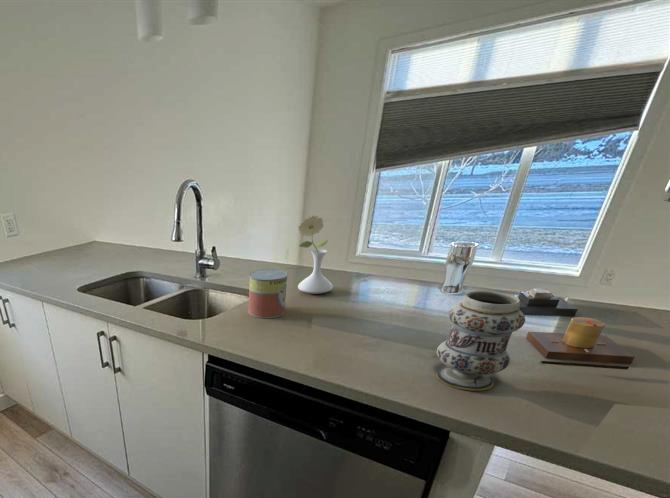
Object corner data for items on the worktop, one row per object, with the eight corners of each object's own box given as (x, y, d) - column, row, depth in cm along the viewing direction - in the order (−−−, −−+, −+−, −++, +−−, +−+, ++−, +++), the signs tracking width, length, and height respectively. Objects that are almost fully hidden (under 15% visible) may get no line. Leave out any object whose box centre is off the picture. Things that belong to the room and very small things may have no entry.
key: (544, 295, 112) (546, 288, 111) (549, 299, 109) (552, 292, 108) (528, 294, 113) (530, 288, 112) (533, 298, 110) (535, 292, 109)
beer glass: (434, 293, 130) (447, 245, 123) (441, 287, 134) (454, 240, 126) (459, 296, 125) (474, 247, 118) (466, 290, 129) (481, 242, 122)
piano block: (557, 304, 115) (563, 290, 113) (574, 317, 107) (581, 302, 105) (497, 302, 119) (502, 289, 117) (509, 314, 111) (514, 300, 109)
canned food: (278, 320, 121) (281, 280, 115) (243, 315, 127) (243, 278, 121) (289, 307, 129) (292, 270, 123) (255, 304, 135) (256, 268, 129)
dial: (557, 337, 91) (567, 315, 89) (586, 338, 90) (597, 316, 87) (568, 347, 87) (579, 324, 84) (599, 348, 85) (611, 325, 83)
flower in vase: (333, 287, 143) (343, 211, 131) (330, 297, 134) (341, 217, 122) (295, 285, 148) (301, 213, 136) (290, 295, 139) (296, 218, 127)
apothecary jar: (509, 379, 84) (544, 295, 75) (484, 401, 78) (518, 313, 69) (445, 361, 92) (469, 283, 83) (419, 378, 87) (441, 298, 78)
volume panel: (599, 347, 92) (605, 334, 90) (627, 369, 83) (635, 356, 82) (523, 343, 97) (528, 330, 95) (543, 363, 88) (548, 350, 86)
